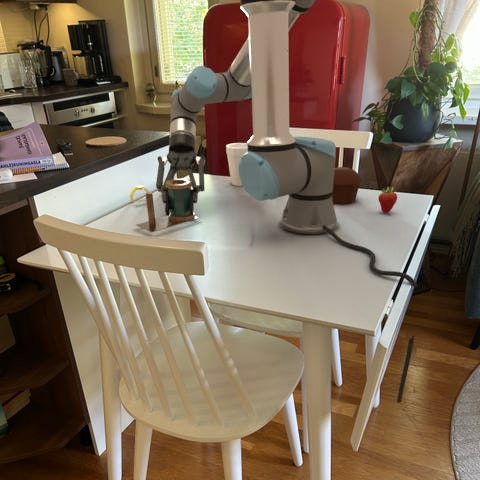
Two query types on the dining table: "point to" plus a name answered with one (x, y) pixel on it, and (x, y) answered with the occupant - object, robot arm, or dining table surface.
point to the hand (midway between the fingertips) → (179, 212)
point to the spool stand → (156, 223)
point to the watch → (135, 190)
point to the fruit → (387, 199)
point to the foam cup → (235, 160)
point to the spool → (179, 199)
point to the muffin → (345, 185)
